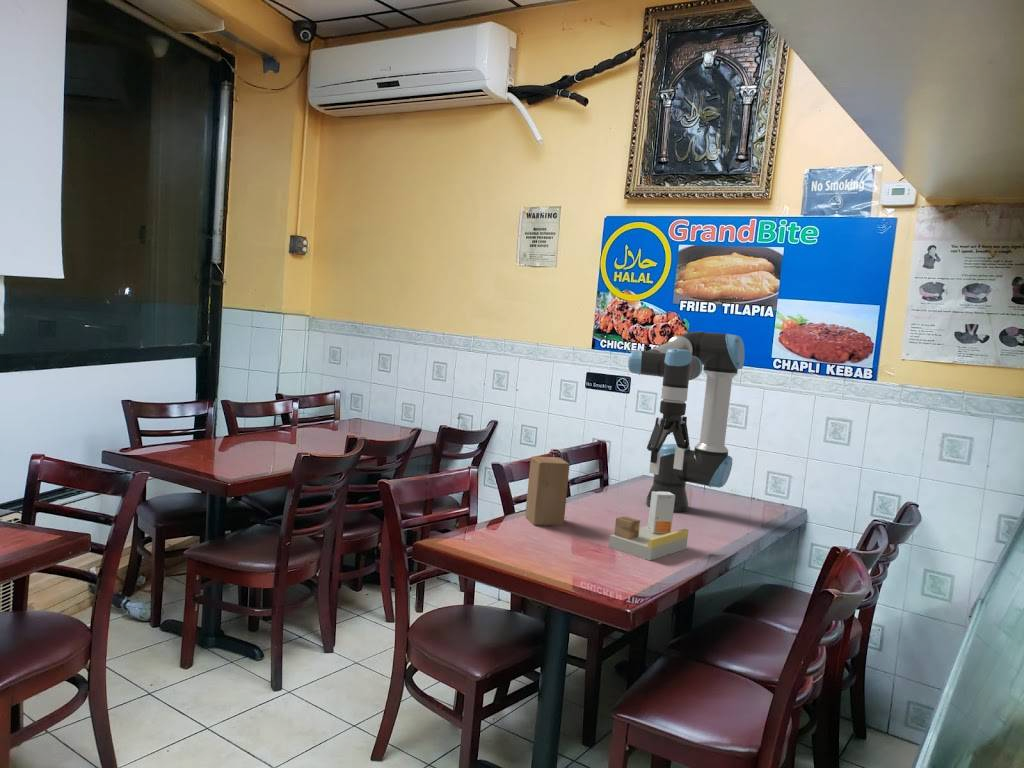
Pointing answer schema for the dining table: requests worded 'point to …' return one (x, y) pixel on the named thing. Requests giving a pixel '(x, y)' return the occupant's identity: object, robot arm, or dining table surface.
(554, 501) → the wooden block
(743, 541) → the dining table surface
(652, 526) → the skincare box
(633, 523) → the tan wooden cube
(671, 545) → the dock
